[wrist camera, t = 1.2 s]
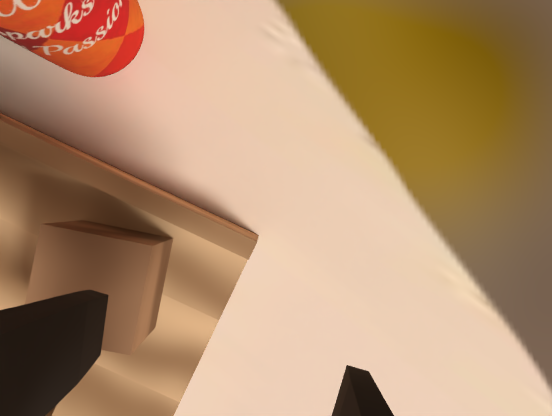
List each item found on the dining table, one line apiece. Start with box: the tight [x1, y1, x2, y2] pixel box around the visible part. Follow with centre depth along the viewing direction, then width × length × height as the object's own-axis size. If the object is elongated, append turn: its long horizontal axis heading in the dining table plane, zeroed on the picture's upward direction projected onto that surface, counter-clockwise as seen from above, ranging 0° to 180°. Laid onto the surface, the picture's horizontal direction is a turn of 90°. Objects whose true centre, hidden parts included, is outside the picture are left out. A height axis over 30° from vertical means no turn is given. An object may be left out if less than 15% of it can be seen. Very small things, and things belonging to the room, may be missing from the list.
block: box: [25, 220, 173, 356], centre depth 20 cm, size 5×5×4 cm
